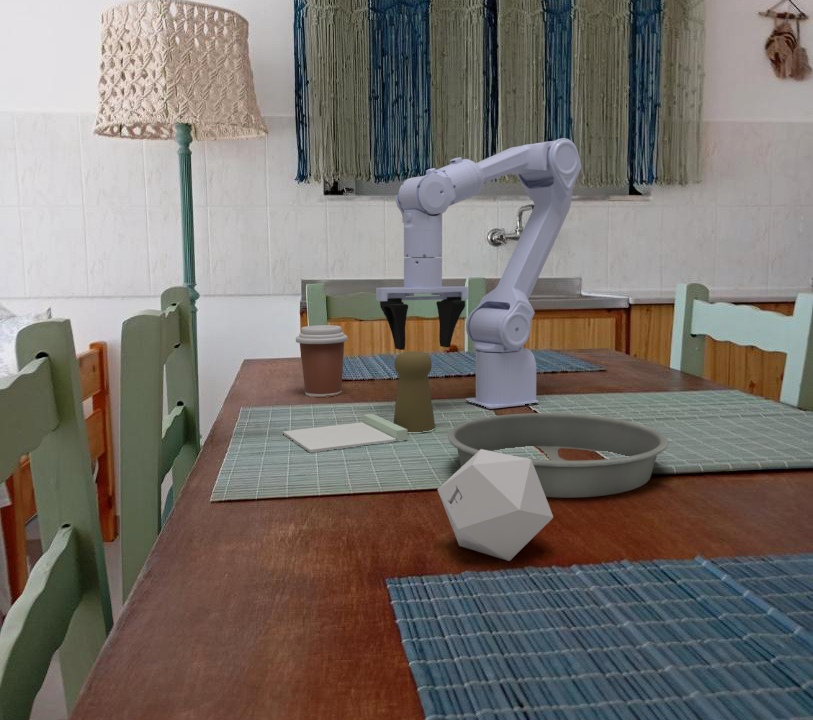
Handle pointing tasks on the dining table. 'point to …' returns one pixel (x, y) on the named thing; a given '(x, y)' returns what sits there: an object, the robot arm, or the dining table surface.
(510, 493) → the die
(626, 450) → the cake pan
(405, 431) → the kerb
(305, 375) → the coffee cup
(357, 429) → the mat
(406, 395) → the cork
